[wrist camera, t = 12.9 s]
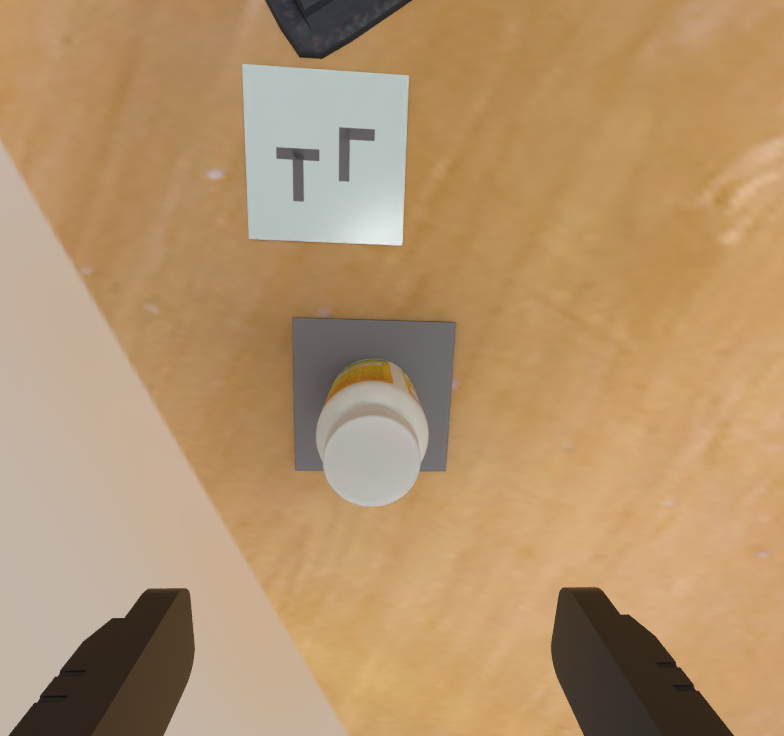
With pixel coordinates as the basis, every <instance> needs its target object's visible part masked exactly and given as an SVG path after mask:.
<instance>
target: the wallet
mask: <svg viewBox="0 0 784 736" xmlns="http://www.w3.org/2000/svg"><path fill="white" fill-rule="evenodd" d="M410 1H412V0H266V2H267V4H268V6H269V8H270V10H271V12H272V14H273V16H274V18H275V20H276V22H277V24H278V25H279V27H280V29H281V31H282V32H283V33H284V35H285V36H286V38H287V39H288V41H289V42H290V44H291V45H292V47H293V48H294V49H295V51H296V52H297V54H298V55H299V57H303V58H318V59H322V58H324V57H326V56H327V55H329V54H331V53H333V52H334V51H336V50H338V49H340V48H341V47H343V46H345V45H346V44H348V43H350V42H352V41H353V40H354V39H356V38H357V37H359V36H360V35H362V34H363V33H365V32H366V31H368V30H369V29H371V28H372V27H374V26H375V25H376V24H378V23H379V22H381V21H382V20H384V19H385V18H387V17H388V16H390V15H391V14H393V13H394V12H396V11H397V10H399V9H400V8H401V7H403V6H404V5H406V4H407V3H409V2H410Z"/></svg>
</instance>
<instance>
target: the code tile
mask: <svg viewBox="0 0 784 736" xmlns="http://www.w3.org/2000/svg"><path fill="white" fill-rule="evenodd" d="M242 73H243V99H244V125H245V151H246V177H247V203H248V229H249V239H253V240H277V241H301V242H325V243H349V244H373V245H397V246H402V241H403V215H404V189H405V163H406V137H407V111H408V85H409V75H396V74H381V73H367V72H352V71H337V70H323V69H308V68H293V67H279V66H264V65H250V64H242Z"/></svg>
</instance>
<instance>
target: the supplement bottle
mask: <svg viewBox="0 0 784 736" xmlns="http://www.w3.org/2000/svg"><path fill="white" fill-rule="evenodd" d="M428 437H429V433H428V424H427V420H426V417H425V414H424V411H423V409H422V406H421V404H420V401H419V399H418V396H417V394H416V391H415V389H414V386H413V384H412V382H411V380H410V379H409V377H408V376H407V374H406V373H405V372H404V371H403V370H402V369H401V368H400V367H398V366H397V365H395V364H394V363H392V362H389V361H386V360H383V359H364V360H360V361H357V362H354V363H352V364H351V365H349V366H347V367H346V368H345V369H343V370H342V371H341V372H340V374H339V375H338V376H337V378H336V379H335V381H334V383H333V385H332V387H331V390H330V392H329V394H328V397H327V399H326V402H325V404H324V407H323V409H322V412H321V414H320V417H319V420H318V423H317V428H316V443H317V449H318V452H319V455H320V458H321V460H322V461H323V469H324V474H325V477H326V479H327V481H328V483H329V485H330V486H331V488H332V489H333V490H334V491H335V492H336V493H337V494H338V495H339V496H340V497H341V498H343V499H345V500H346V501H348V502H350V503H353V504H356V505H359V506H365V507H376V506H383V505H387V504H390V503H392V502H394V501H396V500H398V499H399V498H401V497H402V496H403V495H405V494H406V493H407V492H408V491H409V490H410V488H411V487H412V486H413V484H414V483H415V481H416V479H417V477H418V474H419V471H420V466H421V461H422V459H423V458H424V455H425V453H426V449H427V445H428Z"/></svg>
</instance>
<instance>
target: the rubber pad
mask: <svg viewBox="0 0 784 736" xmlns="http://www.w3.org/2000/svg"><path fill="white" fill-rule="evenodd" d="M455 328H456V323H455V322H429V321H396V320H362V319H329V318H295V317H294V318H293V359H294V418H295V470H297V471H324V469H323V461H322V460H321V458H320V455H319V452H318V449H317V443H316V428H317V423H318V420H319V417H320V414H321V412H322V409H323V407H324V404H325V402H326V399H327V397H328V394H329V392H330V390H331V387H332V385H333V383H334V381H335V379H336V378H337V376H338V375H339V374H340V372H341V371H342V370H343V369H345V368H346V367H347V366H349V365H351V364H352V363H354V362H357V361H360V360H364V359H383V360H386V361H389V362H392V363H394V364H395V365H397V366H398V367H400V368H401V369H402V370H403V371H404V372H405V373H406V374H407V376H408V377H409V379H410V380H411V382H412V384H413V386H414V389H415V391H416V394H417V396H418V399H419V401H420V404H421V406H422V409H423V411H424V414H425V417H426V420H427V424H428V433H429V437H428V445H427V449H426V453H425V455H424V458H423V459H422V461H421V466H420V471H446V460H447V445H448V430H449V416H450V401H451V386H452V372H453V357H454V342H455Z"/></svg>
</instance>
